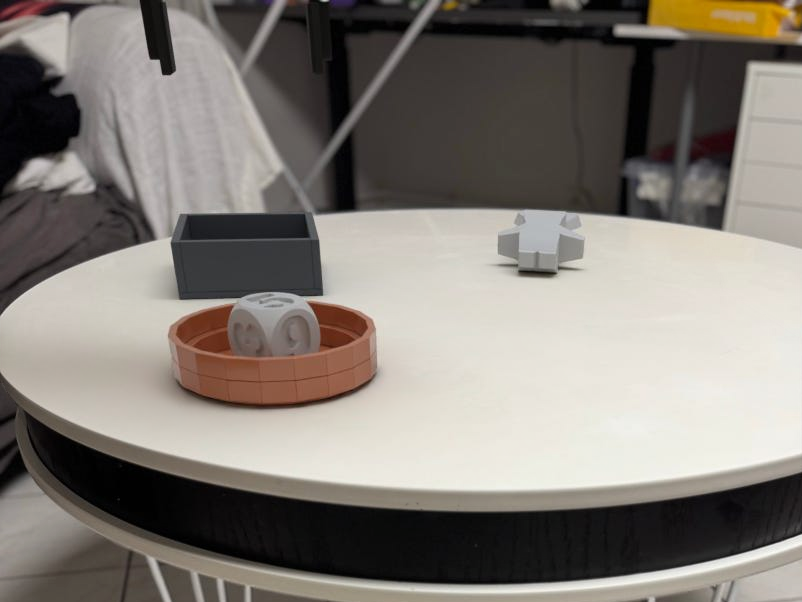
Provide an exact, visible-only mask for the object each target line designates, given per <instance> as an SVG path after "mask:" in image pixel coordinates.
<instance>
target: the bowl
mask: <svg viewBox="0 0 802 602" xmlns="http://www.w3.org/2000/svg"><path fill="white" fill-rule="evenodd" d="M305 301H306V302H307V303H308V305H309V306H310V307H311V309H312V310H313V312H314V314H315V316H316V318H317V321H318V324H319V328H320V346H319V351H318V352H317V353H310V354H303V355H296V356H283V357H243V356H234V354H233V352H232V349H231V346H230V343H229V339H228V331H227V326H228V320H229V316H230V313H231V311H232V309H233V307H234V305H235V304H236V303H237V302H232V303H225V304H220V305H216V306H211V307H207V308H202V309H199V310H197V311H194V312H192V313H188V314H186V315H183V316H181V317H180V318H179V319H177V320H176V321H175V322H173V323H172V324H171V325H170V326H169V328H168V333H167V341H168V345H169V353H170V356H171V363H172V369H173V375H174V378H175V380H177V382H178V383H179V384H180V385H181V387H182V388H185V389H187V390H189V391H192V392H193V393H195V394H198V395H200V396H203V397H208V398H210V399H213V400H214V399H215V400H217V401H222V402H227V403H233V404H243V405H253V406H254V405H255V406H256V405H257V406H277V405H293V404H302V403H308V402H315V401H319V400H320V401H321V400H324V399H328V398H331V397H335V396H338V395H341V394H344V393H347V392H349V391H352V390H354V389H356V388H358V387H360V386H361V385H363V384H364V383H366V382H368V381H369V380H371V379H372V378H373V376H374V375H375V373H376V372H377V370H378V368H379V367H378V349H377V348H378V345H377V327H376V325H375V322H374V320H373V318H372V317H370V316H368V315H367V314H366V313H364V312H363V311H361V310H358V309H354V308H351V307H348V306H345V305H341V304H336V303H329V302H323V301H317V300H316V301H315V300H305Z"/></svg>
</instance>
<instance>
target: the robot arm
mask: <svg viewBox="0 0 802 602" xmlns="http://www.w3.org/2000/svg"><path fill="white" fill-rule="evenodd" d="M329 2H330V0H307V3H305V6H304V7H305V19H306V32H307V41H308V43H307V44H308V57H309V68H310V72H311V74H313V75H315V76H320V77H321V76H324V63H323V61H333V47H332V33H331V32H332V31H331V17H330V5H329ZM139 6H140V12H141V18H142V24H143V29H144V36H145V42H146V48H147V53H148V58H149V60H150V61H159V64H160V65H159V66H160V71H161V75H162V76H172V75H173V74H174V73H176V71H177V66H176V59H175V53H174V46H173V39H172V33H171V27H170V26H171V25H170V21H169V20H170V19H169V13H168V6H167V3H166V1H163V0H139Z"/></svg>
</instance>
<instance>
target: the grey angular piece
mask: <svg viewBox="0 0 802 602" xmlns="http://www.w3.org/2000/svg"><path fill="white" fill-rule="evenodd" d="M513 224H514V225H516V226H514V227H510V228H506V229H504V230H500V231H498V232H497V255H500V256H503V257H507V258H510V259H513V260H516V261H518V263H517V271H519V272H520V271H521V272H522V271H523V272H537V273H538V272H539V273H555V274H557V273H558V269H559V264H561V263H567V262H572V261H577V260H582V259H583V258H584V253H585V252H584V251H585V242H586V241H585V240H586V238H585V236H584V235H581V234H579V233H577V232H575V231H573V230H577V229H579V228H580V229H581V227H582V222H581V218H580V216H579V214H578V213H574V212H573V213H571V212H570V213H567V211H562V210H541V209H524V210H519V211H518V212H517V214H516V216H515V219H514V221H513Z"/></svg>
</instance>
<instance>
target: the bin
mask: <svg viewBox="0 0 802 602" xmlns="http://www.w3.org/2000/svg"><path fill="white" fill-rule="evenodd" d="M319 237H320V236H319V234H318V230H317V226H316V222H315V218H314V215H313V212H311V211H296V212H295V211H292V212H289V211H288V212H284V211H283V212H220V213H219V212H216V213H215V212H214V213H213V212H212V213H211V212H209V213H207V212H206V213H205V212H204V213H203V212H202V213H180V214H179V216H178V219H177V222H176V225H175V228H174V230H173V234H172V236H171V239H170V250H171V255H172V261H173V267H174V275H175V280H176V284H177V286H176V287H177V292H178V298H179V300H193V299H196V300H199V299H228V298H229V299H231V298H233V299H234V298H242V297H244V296H247V295H251V294H256V293H266V292H281V293H290V294H295V295H298V296H300V297H302V296H323V295H324V288H323V287H324V286H323V285H324V284H323V272H322V259H321V258H322V257H321V245H320V244H321V243H320V238H319ZM198 298H199V299H198Z"/></svg>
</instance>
